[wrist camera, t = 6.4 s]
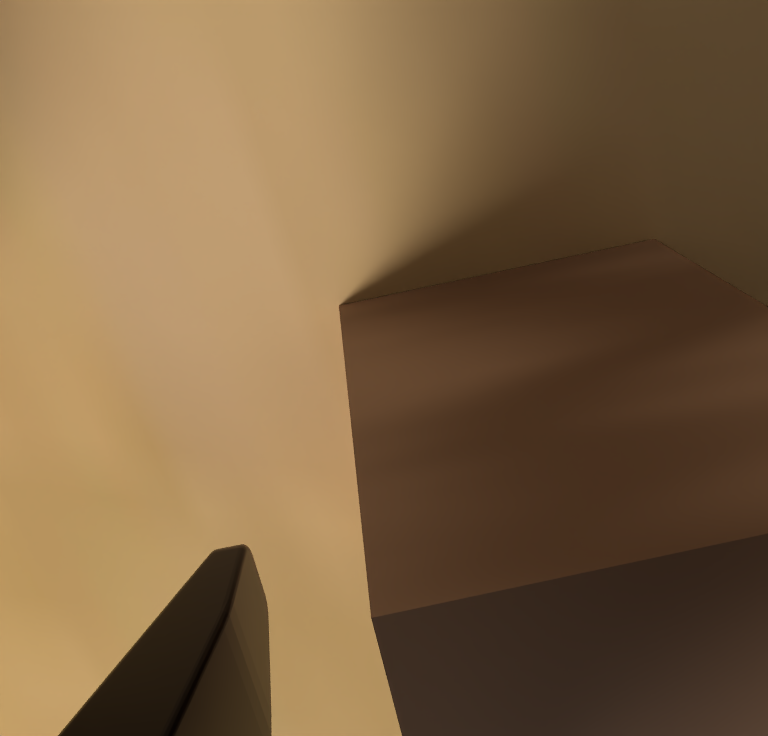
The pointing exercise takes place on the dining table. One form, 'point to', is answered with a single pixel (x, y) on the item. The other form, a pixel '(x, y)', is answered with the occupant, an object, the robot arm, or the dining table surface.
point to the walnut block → (567, 498)
